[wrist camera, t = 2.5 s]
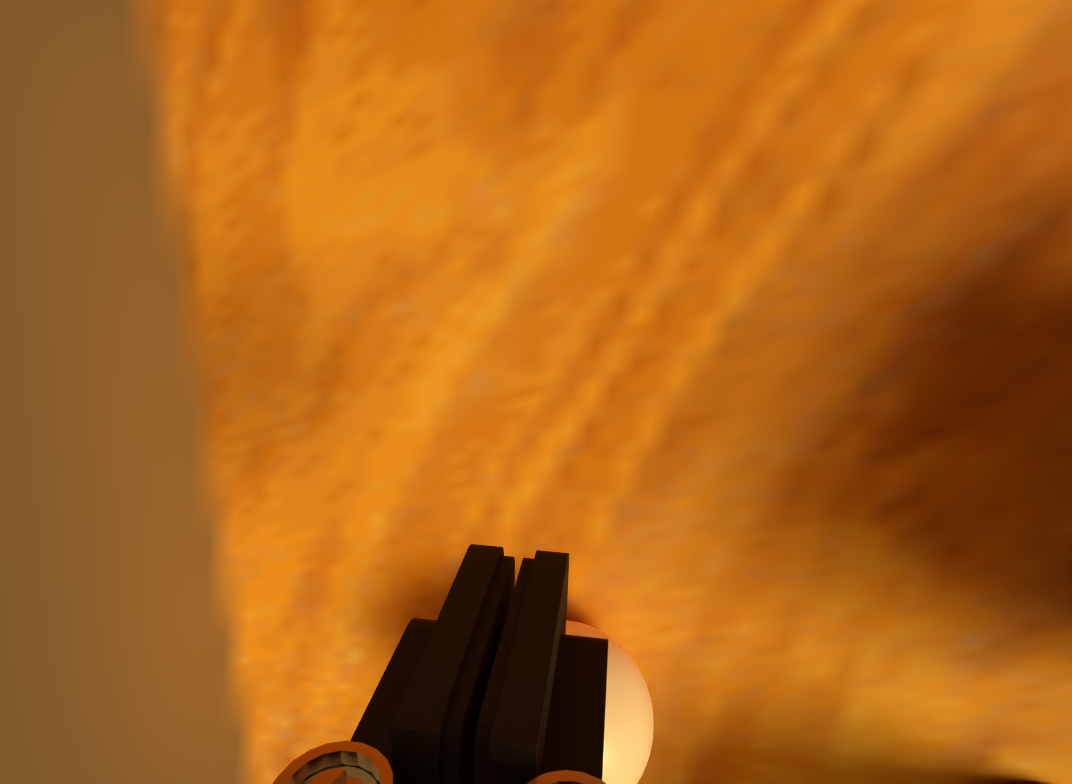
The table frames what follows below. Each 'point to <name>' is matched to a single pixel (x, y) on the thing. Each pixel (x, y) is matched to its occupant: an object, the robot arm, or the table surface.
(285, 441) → the table surface
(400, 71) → the table surface
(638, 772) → the ball
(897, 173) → the table surface
